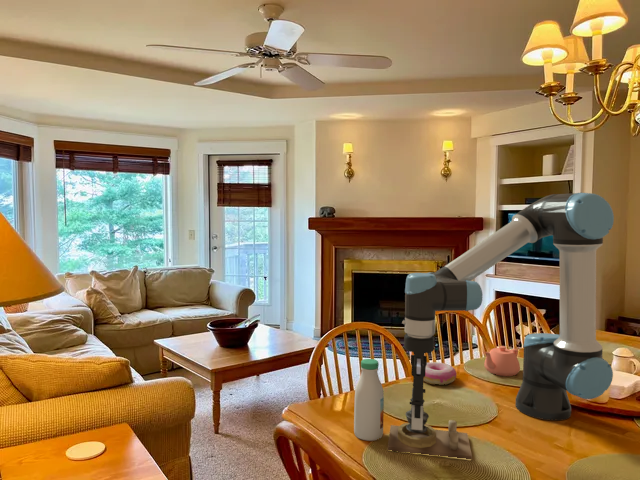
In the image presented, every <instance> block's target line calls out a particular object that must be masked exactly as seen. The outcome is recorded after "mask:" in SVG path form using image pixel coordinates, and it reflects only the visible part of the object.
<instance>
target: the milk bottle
mask: <svg viewBox="0 0 640 480" xmlns="http://www.w3.org/2000/svg"><path fill="white" fill-rule="evenodd" d="M379 365H380V364H379V360H377V359H374V358H365V359H362V360H361V361H360V370H361V374H360V376H359V379H358V381H357V383H356V385H355V391H354V410H353V411H354V412H353V416H354V417H353V418H354V419H353V432H354V435H355V437H356V438H357V439H359V440H362V441H368V442H369V441H370V442H373V441H378V440H380V439H381V438H382V437H383V436H384V413H385V411H384V410H385V406H384V405H385V401H384V399H385V398H384V388H383V385H382V383H381V379H380V377H379V373H378V371H379ZM379 438H380V439H379ZM377 439H378V440H377Z"/></svg>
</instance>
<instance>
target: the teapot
mask: <svg viewBox="0 0 640 480" xmlns="http://www.w3.org/2000/svg"><path fill="white" fill-rule="evenodd" d="M484 353H485V360H484V364H483V365H484V368H485V370H486V371H487V372H488V371H489V372H488V373H491V374H492V373H493V374H492V375H495V374H496V376H500V377H513V375H514V376H516V375H517V374H519V373H520V370H521V365H520V361H519V358H518V354H519V350H518V349H517V348H511V349H508V348H507V347H506V346H505V345H500V346H498V347H494V348H491V349H490V351H489V352H488V351H484Z"/></svg>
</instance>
